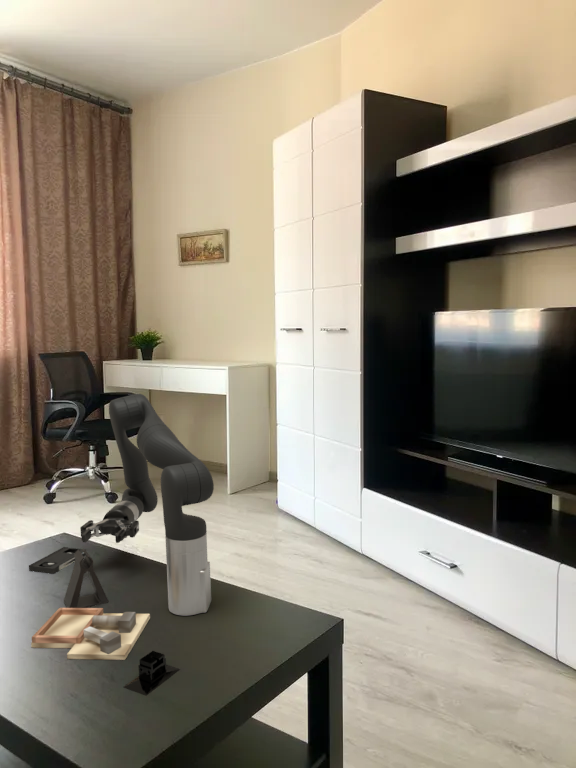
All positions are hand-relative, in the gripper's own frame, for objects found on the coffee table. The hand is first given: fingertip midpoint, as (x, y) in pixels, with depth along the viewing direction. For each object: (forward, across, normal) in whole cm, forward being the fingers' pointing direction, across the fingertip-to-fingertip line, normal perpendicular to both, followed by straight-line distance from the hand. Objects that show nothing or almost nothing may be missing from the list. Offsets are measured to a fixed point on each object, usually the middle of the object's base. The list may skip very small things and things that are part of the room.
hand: (100, 538), depth 156 cm
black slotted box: (+42, +25, +11) cm, 50 cm away
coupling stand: (+28, +7, +11) cm, 30 cm away
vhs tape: (-13, -17, +12) cm, 24 cm away
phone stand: (+12, 0, +11) cm, 16 cm away
